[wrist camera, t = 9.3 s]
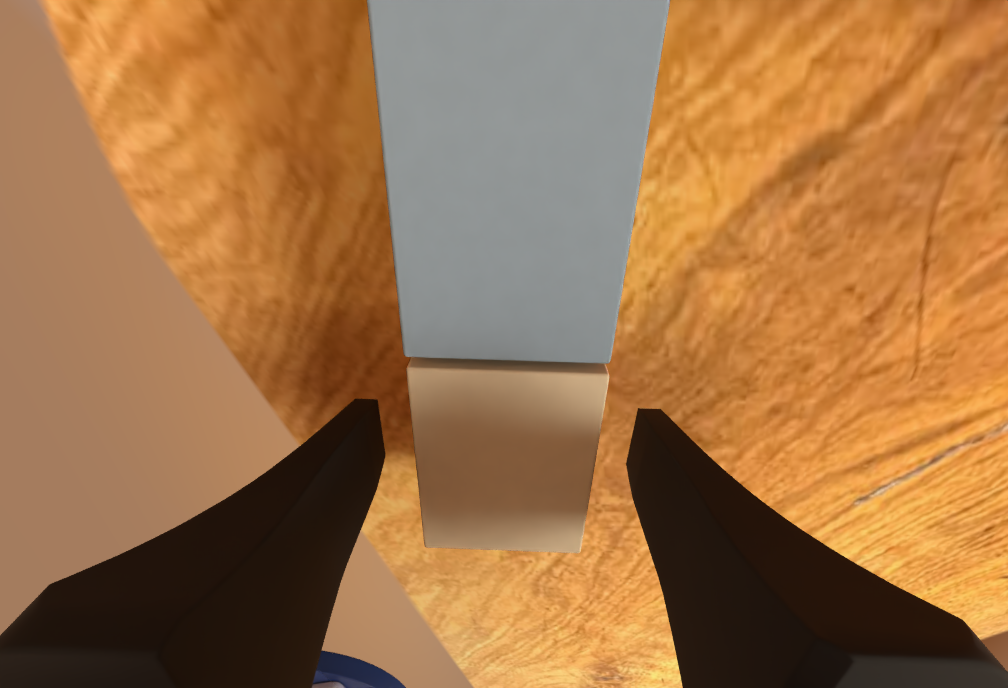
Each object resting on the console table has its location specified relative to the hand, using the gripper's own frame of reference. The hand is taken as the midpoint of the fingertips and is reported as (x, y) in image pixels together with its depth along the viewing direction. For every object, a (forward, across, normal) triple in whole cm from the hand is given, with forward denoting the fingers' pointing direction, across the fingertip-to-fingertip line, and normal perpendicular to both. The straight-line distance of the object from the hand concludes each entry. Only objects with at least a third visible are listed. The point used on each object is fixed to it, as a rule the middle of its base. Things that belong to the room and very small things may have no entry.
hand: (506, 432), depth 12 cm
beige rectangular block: (+2, 0, 0) cm, 2 cm away
